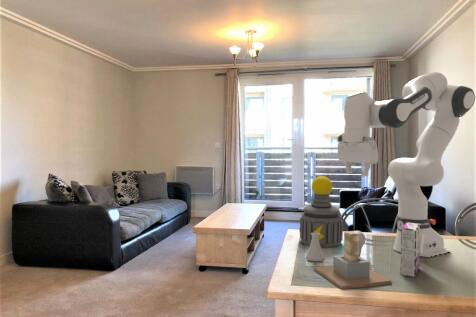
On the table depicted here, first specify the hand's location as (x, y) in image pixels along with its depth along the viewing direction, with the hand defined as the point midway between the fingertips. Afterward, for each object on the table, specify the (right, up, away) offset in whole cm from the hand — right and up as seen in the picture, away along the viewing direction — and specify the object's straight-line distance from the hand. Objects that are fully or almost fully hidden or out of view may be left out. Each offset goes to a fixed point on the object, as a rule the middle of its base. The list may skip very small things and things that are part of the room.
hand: (357, 175), depth 137 cm
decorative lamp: (-6, -32, +32) cm, 46 cm away
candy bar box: (+17, -34, -5) cm, 38 cm away
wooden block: (-6, -33, -10) cm, 35 cm away
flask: (-14, -33, +8) cm, 37 cm away
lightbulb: (+3, -33, +9) cm, 34 cm away
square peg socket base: (-5, -34, -10) cm, 36 cm away
